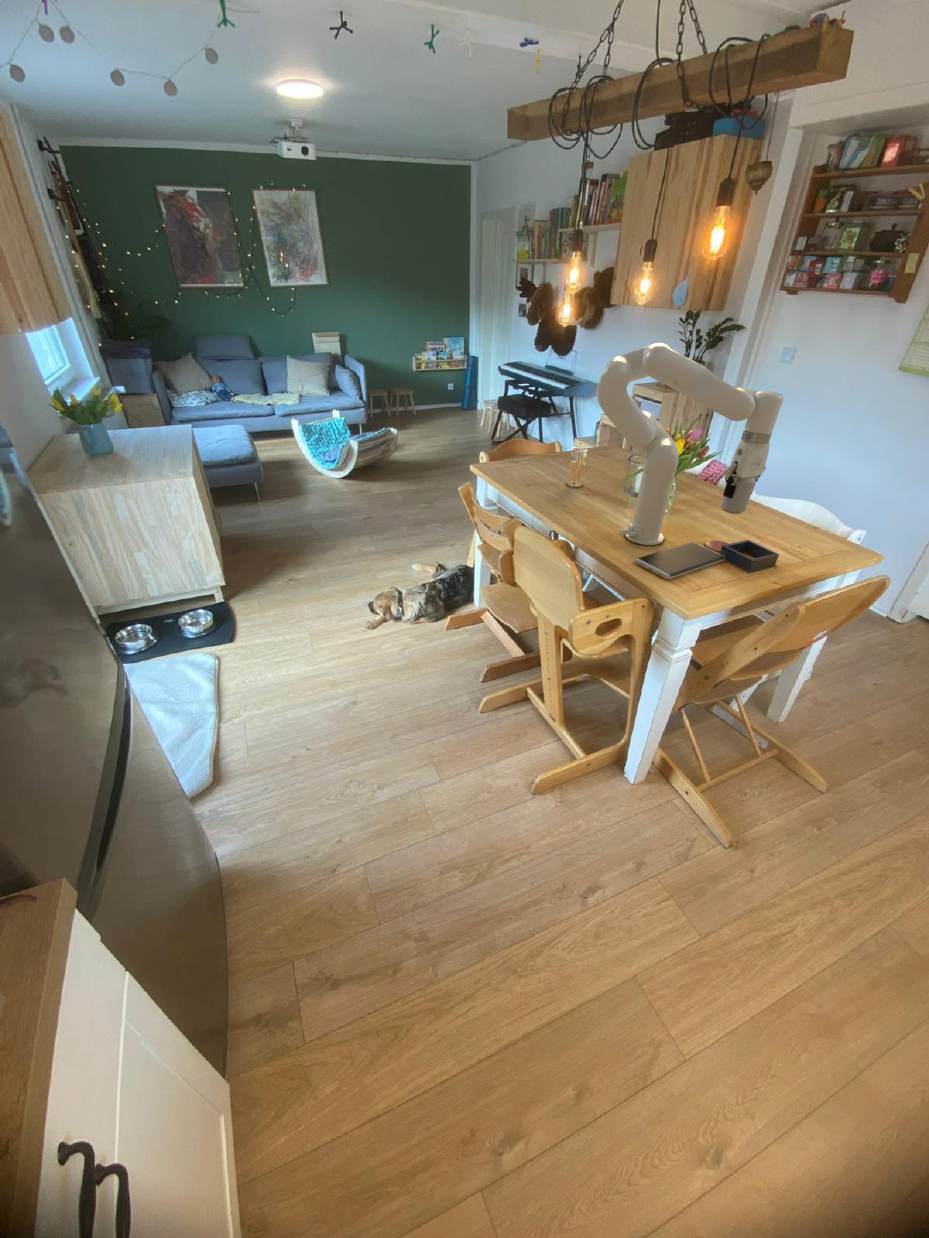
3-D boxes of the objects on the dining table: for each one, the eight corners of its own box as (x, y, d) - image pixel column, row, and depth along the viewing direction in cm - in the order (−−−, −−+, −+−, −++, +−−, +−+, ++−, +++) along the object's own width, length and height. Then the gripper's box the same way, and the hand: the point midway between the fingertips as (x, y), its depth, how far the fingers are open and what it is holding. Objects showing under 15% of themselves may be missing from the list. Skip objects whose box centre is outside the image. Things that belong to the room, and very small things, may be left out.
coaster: (719, 554, 171) (720, 553, 170) (699, 544, 177) (700, 542, 177) (738, 550, 174) (739, 549, 173) (718, 540, 180) (718, 538, 180)
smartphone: (633, 563, 164) (634, 558, 163) (690, 545, 176) (692, 540, 175) (667, 581, 154) (668, 576, 154) (725, 561, 167) (727, 556, 166)
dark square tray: (748, 572, 161) (752, 560, 158) (718, 556, 169) (722, 545, 167) (774, 566, 165) (779, 554, 163) (744, 550, 174) (748, 539, 171)
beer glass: (585, 484, 225) (590, 448, 217) (579, 488, 220) (584, 452, 212) (570, 481, 228) (574, 446, 220) (563, 485, 223) (568, 449, 215)
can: (719, 512, 166) (731, 474, 159) (719, 504, 172) (730, 468, 165) (745, 516, 164) (758, 478, 157) (744, 508, 170) (757, 471, 163)
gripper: (745, 443, 149) (726, 502, 159) (787, 438, 156) (766, 496, 165) (724, 436, 155) (707, 494, 165) (765, 432, 161) (747, 488, 171)
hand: (737, 494), depth 165 cm, fingers closed on can, 7 cm apart
